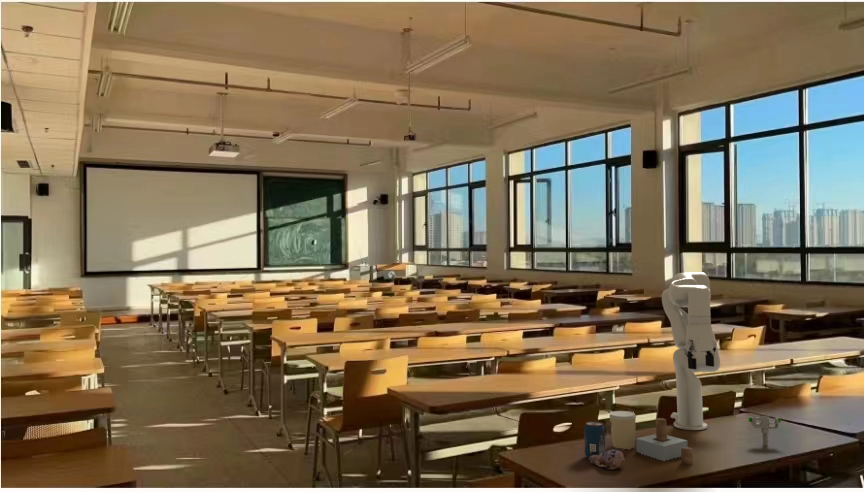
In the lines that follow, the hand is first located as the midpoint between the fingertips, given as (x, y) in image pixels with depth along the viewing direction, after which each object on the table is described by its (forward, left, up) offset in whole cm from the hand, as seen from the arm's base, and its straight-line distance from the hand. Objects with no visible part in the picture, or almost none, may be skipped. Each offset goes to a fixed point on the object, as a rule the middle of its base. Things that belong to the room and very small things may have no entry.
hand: (701, 367), depth 238 cm
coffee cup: (-16, -24, -28) cm, 41 cm away
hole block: (-2, -20, -28) cm, 35 cm away
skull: (-3, -45, -29) cm, 54 cm away
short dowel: (+10, -22, -28) cm, 37 cm away
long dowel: (-2, -20, -28) cm, 35 cm away
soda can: (-12, -42, -28) cm, 52 cm away
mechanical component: (+12, +18, -28) cm, 36 cm away
